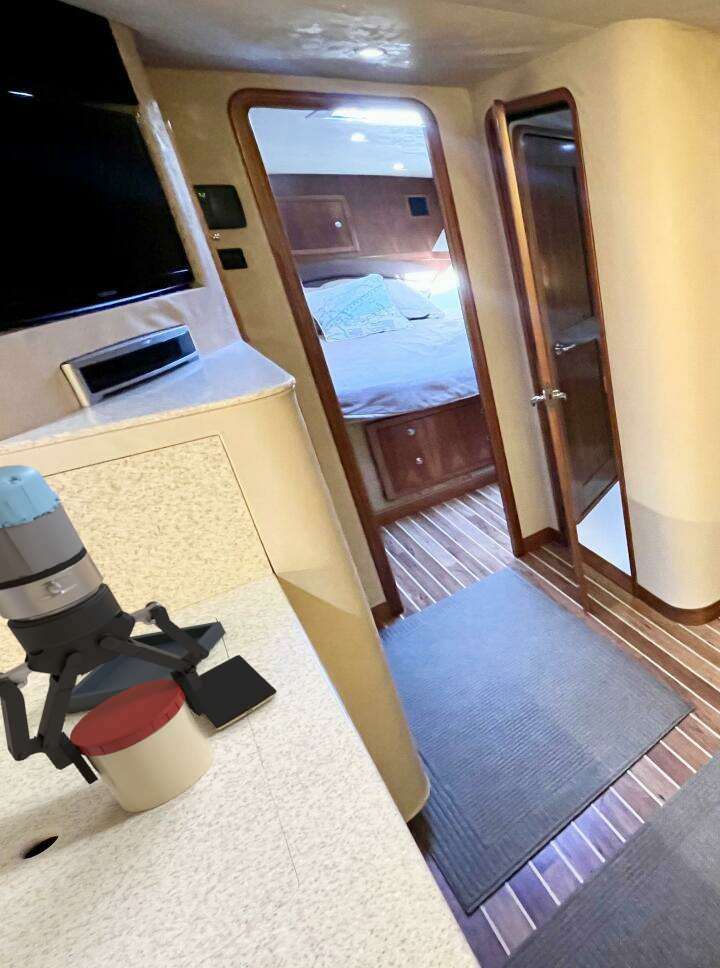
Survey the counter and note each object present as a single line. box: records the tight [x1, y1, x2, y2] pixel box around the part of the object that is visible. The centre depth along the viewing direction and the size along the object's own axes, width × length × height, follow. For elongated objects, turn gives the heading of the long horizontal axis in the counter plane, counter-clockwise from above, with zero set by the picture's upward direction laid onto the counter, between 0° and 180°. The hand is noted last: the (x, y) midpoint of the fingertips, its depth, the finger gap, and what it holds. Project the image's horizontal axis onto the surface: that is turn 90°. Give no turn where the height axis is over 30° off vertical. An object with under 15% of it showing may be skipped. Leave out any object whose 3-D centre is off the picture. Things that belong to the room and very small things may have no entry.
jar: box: [85, 701, 215, 813], centre depth 68 cm, size 9×9×12 cm
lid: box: [69, 679, 185, 757], centre depth 66 cm, size 10×10×2 cm
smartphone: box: [194, 654, 278, 731], centre depth 82 cm, size 7×1×15 cm
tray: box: [66, 620, 227, 715], centre depth 87 cm, size 14×14×3 cm
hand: (147, 741), depth 68 cm, fingers closed on lid, 9 cm apart
